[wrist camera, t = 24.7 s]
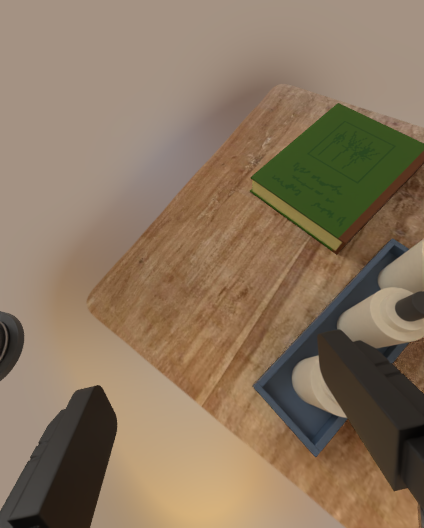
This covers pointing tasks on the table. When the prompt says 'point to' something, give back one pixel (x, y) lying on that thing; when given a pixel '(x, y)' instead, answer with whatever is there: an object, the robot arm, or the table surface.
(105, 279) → the table surface
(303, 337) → the tray
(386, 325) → the row bottle
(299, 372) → the bottle
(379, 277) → the row bottle
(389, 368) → the robot arm
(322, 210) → the hardcover book
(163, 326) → the table surface
